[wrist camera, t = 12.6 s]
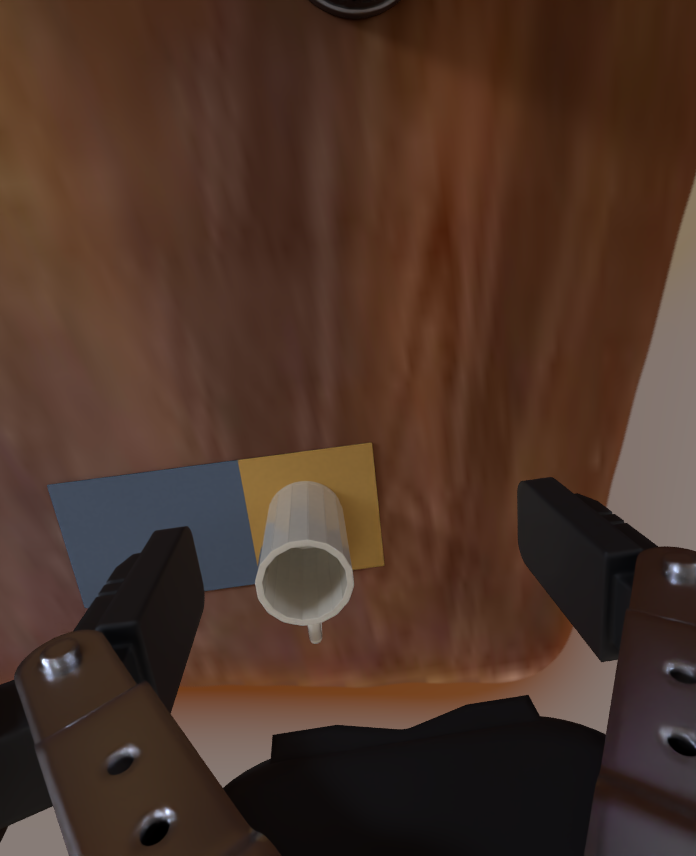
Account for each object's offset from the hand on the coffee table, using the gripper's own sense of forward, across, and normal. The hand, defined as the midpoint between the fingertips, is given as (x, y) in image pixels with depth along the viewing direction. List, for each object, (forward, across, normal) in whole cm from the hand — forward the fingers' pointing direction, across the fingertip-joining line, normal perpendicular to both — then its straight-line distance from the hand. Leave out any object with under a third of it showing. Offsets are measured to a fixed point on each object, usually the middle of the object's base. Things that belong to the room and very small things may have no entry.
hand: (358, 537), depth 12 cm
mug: (+26, +3, +13) cm, 29 cm away
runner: (+26, +10, +12) cm, 30 cm away
